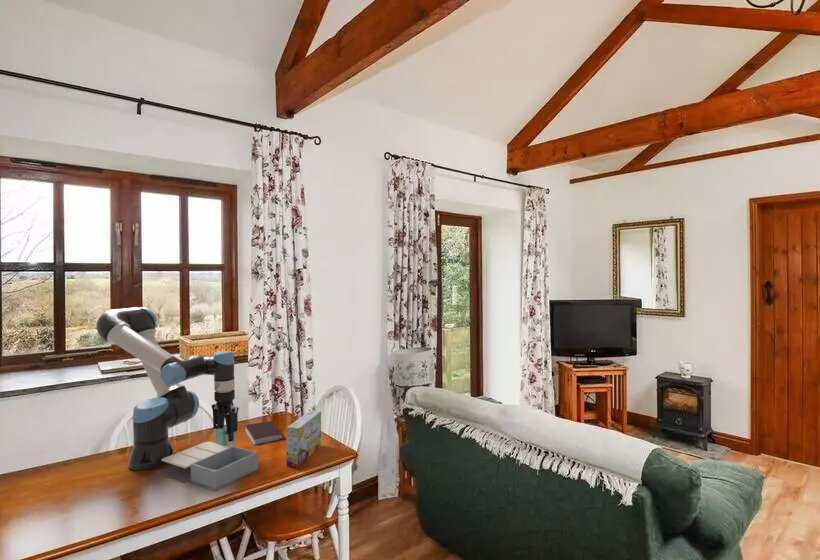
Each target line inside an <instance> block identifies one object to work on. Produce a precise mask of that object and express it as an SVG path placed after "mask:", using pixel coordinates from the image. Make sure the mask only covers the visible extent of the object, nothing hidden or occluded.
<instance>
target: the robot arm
mask: <svg viewBox="0 0 820 560" xmlns="http://www.w3.org/2000/svg"><path fill="white" fill-rule="evenodd" d="M157 322H158V318H157V316H156V314H155V312H154V311H153V310H151V309H150V308H148V307H144V306H142V307H141V306H133V307H127V308H126V307H125V308H115V309H110V310H106V311H105V312H104V313H102V314H101V315H100V316H99V317H98V319H97V322H96V331H97V333H98V335H99V337H100V338H101V339H102V340H104V341H105V342H107V343H108V344H110V345H117V346H118V347H119V348H121V349H123V350H124V351H126V352H128V353H129V354H131V356H134V357H135V358H136V359H138V360H140V362H141V364H142V367H143V368H144V370H145V372H146V374H147V376H148V378H149V381H150V383H151V384H152V386H153V388H154V390H155V392H156V394H157V395H156V397H153V398H149V399H144V400H142V401H141V402H138V404H136V405H135V406H134V408H133V411H132V413H133V414H132V431H133V433H132V434H133V435H132V436H133V438H132V439H133V446H132V449H131V451H130V455H129V458H128V461H127V462H128V468H129V469H130V470H133V471H148V470H153V469H154V470H155V469H158V468H160V467H164V466H166V465H168V464H169V463H167V462H164V461H162V460H161V459H163V458H165V457H168V456H171V455H173V454H175V453H174V450H173V447H172V444H171V443H170V442H171V441H170V440H169V429H171V428H174V427H176V426H177V425H180V424H182V423H185V422H188V421H189V420H191V419H192V418H194V417H195V416H196V415H197V413H198V411H199V408H200V400H199V397H198V396H197V394H196V393H195V392H193V391H191V390H187V387H186V386H185V385H184V384H181V383H182V382H185V381H187V380H188V381H189V380H190V379H194V378H198V377H200V376H205V375H206V376H209V375H210V376H213V380H214V385H213V386H214V397H213V398H214V401H215V403H213V404H211V410H212V424H213V427H212V428H213V429H214V430H215V431H216V430H217V429H219V428H222V427H225V426H226V427H227V433H226V446H227V447H232V446H234V442H233V440H234V436H233V433H234V432H235V433H236V432H238V426H239V425H238V421H239V420H238V419H239V418H238V416H239V415H238V413H239V409H240V408H239V407H238V406H235V405H234V400H235V398H236V397H235V395H236V393H235V388H236V385H235V384H236V382H235V357H234V356H235V355H234V352H233V351H231V350H219V351H215V352H214V353H213V355H202V354H198V355H197V354H196V355H191V356H190V357H189V358H188V359H185V360H181V359H179V357H176V356H175V355H173V354H171V353H170V352H169V351H166V350H165V349H164V348H162V347H161V346H160V345H159V342H158V340H157V339H156V337H155V335H156V332H157V325H158V323H157Z"/></svg>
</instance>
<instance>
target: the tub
mask: <svg viewBox="0 0 820 560" xmlns="http://www.w3.org/2000/svg"><path fill="white" fill-rule="evenodd" d="M258 454H259V453H258V452H257V451H254V450H250V449H246V448H242V447H239V446H235V445H233V446H232V447H230V448H227V449H225V450H223V451H220V452H218V453H215V454H213V455H211V456H208V457H206V458H204V459H201V460H199V461H196V462H194V463H192V464H191V480H190V483H192V484H194V485H197V486H200V487H202V488H205V489H209V490H211V491H213V492H217V491H219V490H221V489H223V488H225V487H227V486H229V485H231V484H232V483H235V482H237V481H238V480H240V479H242V478H245V477H247V476H249V475H251V474H252V473H254V472H256V471H258V470H259V457H258V456H259V455H258ZM217 466H221V467H222V468H220V469H218V470H216V471H215V470H212V469H213V468H215V467H217Z"/></svg>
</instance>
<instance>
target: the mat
mask: <svg viewBox="0 0 820 560" xmlns="http://www.w3.org/2000/svg"><path fill="white" fill-rule="evenodd" d="M158 473H159V475H161V476H164V477H165V478H166V477H167V478H169V479H172V480H173V481H174V480H175V481H177V482H180V483H183V484H186V483H188V482H191V466H190V467H188V468H186V469H185V468H182V467H179V466H176V465H173V464H172V465H171V466H168V467H167V468H164V469H161V470H159V471H157V472H156V474H158Z"/></svg>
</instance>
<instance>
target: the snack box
mask: <svg viewBox="0 0 820 560" xmlns="http://www.w3.org/2000/svg"><path fill="white" fill-rule="evenodd" d="M321 446H322V410H308V412H306V413H304V414H303V415H302V416H301V417H299V418H298V419H297V420H295V421H294V422H293V423H292V422H291V424H289V425H288V426H287V427H286V463H285V464H286V465H285V466H286V467H293V468H294V467H295V468H299V467H300V466H301V465H303V463H304V462H305V461H306V460H307V459H308V458H310V457H311V456H312V455H313V454H314V453H315V452H316V451H317V450H318V449H319V448H320V447H321Z"/></svg>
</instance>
